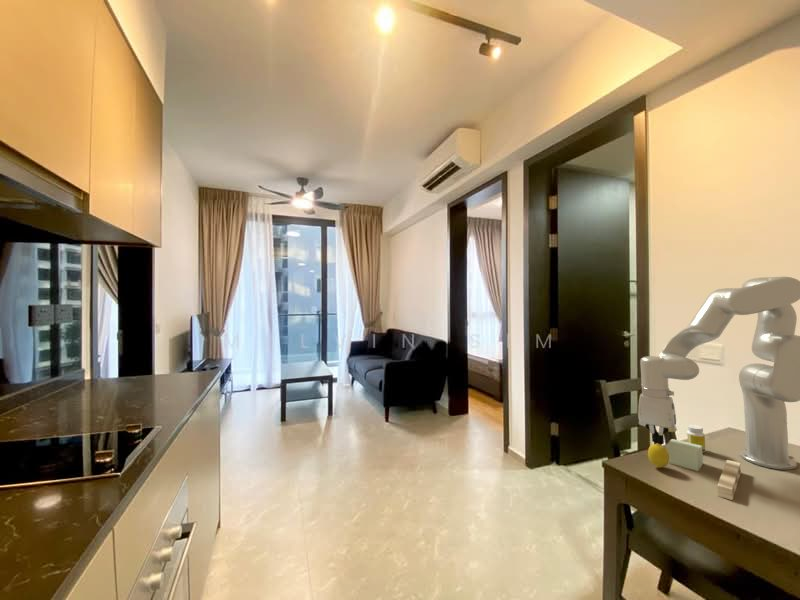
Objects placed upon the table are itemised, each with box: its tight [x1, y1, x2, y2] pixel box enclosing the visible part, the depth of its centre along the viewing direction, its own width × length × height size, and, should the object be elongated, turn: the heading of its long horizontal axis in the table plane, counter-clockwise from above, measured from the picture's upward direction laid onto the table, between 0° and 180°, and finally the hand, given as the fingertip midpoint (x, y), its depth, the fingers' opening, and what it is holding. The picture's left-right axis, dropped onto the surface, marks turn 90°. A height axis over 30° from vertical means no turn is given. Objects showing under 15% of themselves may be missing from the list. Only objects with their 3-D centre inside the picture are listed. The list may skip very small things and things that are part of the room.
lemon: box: [647, 443, 669, 469], centre depth 112 cm, size 6×6×8 cm
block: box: [665, 438, 704, 472], centre depth 114 cm, size 7×8×6 cm
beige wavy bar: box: [716, 459, 742, 501], centre depth 101 cm, size 20×3×3 cm, turn 131°
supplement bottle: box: [686, 424, 706, 454], centre depth 122 cm, size 5×5×8 cm
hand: (658, 444), depth 119 cm, fingers closed
